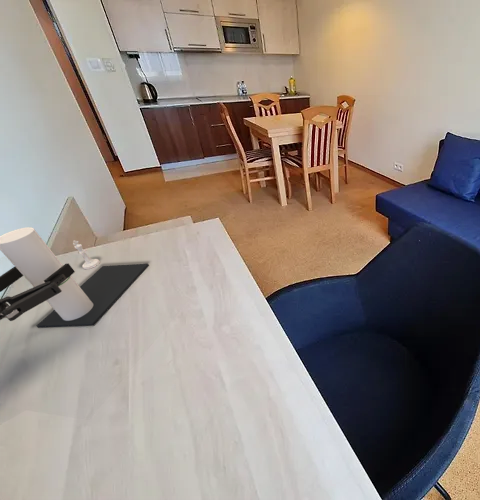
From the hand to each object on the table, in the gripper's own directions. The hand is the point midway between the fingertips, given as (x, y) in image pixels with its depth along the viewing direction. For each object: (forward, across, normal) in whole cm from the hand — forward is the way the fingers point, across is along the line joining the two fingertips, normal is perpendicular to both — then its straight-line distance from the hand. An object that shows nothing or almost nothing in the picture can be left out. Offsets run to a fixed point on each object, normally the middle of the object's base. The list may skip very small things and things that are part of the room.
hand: (45, 269), depth 76 cm
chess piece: (+22, -14, -16) cm, 31 cm away
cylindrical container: (-1, 0, -15) cm, 15 cm away
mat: (+8, 0, -15) cm, 17 cm away
